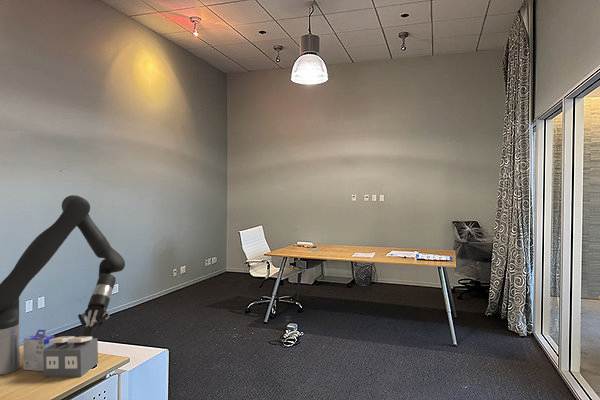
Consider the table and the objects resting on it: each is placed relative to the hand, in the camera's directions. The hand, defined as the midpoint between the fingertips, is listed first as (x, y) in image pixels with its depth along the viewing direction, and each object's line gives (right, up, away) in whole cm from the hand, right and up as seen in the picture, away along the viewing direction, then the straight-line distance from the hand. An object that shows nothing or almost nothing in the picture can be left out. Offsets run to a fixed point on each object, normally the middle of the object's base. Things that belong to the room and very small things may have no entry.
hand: (86, 337), depth 157 cm
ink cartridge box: (-17, -12, -2) cm, 21 cm away
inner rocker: (-7, +1, -4) cm, 8 cm away
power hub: (-3, -11, -4) cm, 13 cm away
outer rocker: (0, +1, -4) cm, 4 cm away
